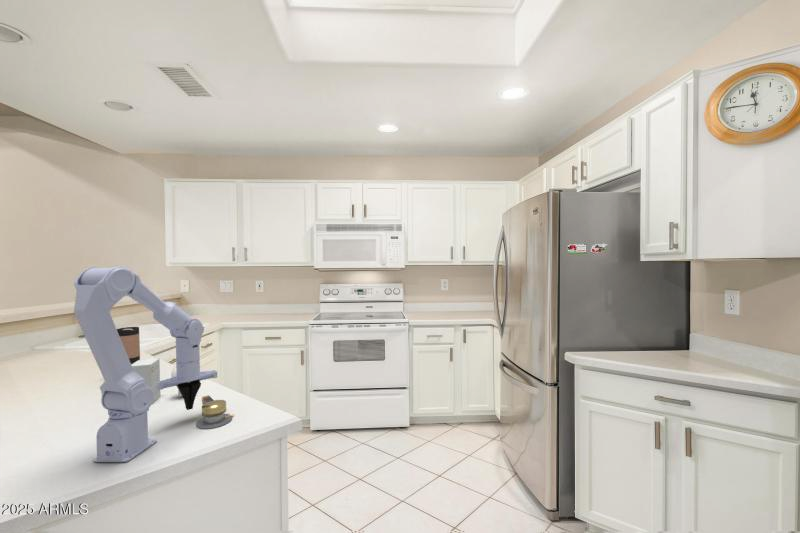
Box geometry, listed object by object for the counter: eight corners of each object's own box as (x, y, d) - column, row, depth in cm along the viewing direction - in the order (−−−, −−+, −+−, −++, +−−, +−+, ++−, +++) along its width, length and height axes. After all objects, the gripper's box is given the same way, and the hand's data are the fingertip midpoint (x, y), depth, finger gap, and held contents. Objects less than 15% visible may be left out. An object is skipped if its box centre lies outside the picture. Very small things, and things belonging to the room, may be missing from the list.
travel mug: (119, 377, 141) (118, 327, 141) (142, 374, 144) (141, 326, 144) (113, 382, 134) (112, 330, 134) (137, 379, 137) (136, 328, 137)
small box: (139, 398, 117) (138, 359, 117) (161, 396, 119) (160, 357, 119) (128, 407, 109) (127, 366, 109) (151, 404, 111) (150, 364, 111)
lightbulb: (183, 400, 114) (182, 367, 114) (167, 399, 115) (166, 366, 115) (198, 393, 120) (197, 361, 120) (182, 392, 121) (182, 361, 121)
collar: (229, 412, 98) (228, 403, 98) (205, 419, 94) (205, 410, 94) (216, 400, 107) (216, 392, 107) (194, 406, 103) (194, 398, 102)
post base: (221, 429, 93) (221, 420, 93) (188, 429, 94) (188, 420, 94) (238, 414, 102) (238, 406, 102) (208, 414, 103) (208, 406, 103)
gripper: (212, 353, 107) (213, 397, 107) (154, 363, 97) (156, 411, 97) (219, 357, 102) (220, 404, 102) (159, 368, 92) (160, 419, 92)
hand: (189, 408), depth 99 cm, fingers closed
